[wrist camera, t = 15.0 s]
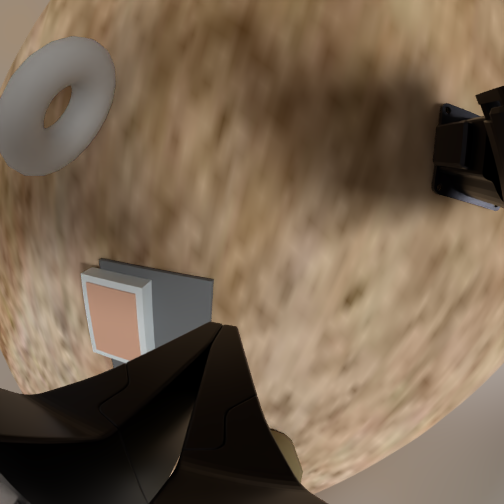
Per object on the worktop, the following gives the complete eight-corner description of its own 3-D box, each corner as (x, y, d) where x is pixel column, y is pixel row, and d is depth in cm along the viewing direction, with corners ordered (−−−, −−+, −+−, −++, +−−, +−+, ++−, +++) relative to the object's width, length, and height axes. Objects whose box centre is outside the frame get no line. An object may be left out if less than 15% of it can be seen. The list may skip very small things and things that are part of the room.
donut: (90, 177, 21) (-7, 197, 12) (65, 159, 21) (-29, 172, 12) (146, 63, 18) (56, 21, 8) (115, 51, 18) (27, 16, 8)
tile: (148, 371, 23) (92, 352, 24) (155, 359, 25) (101, 343, 26) (141, 288, 21) (79, 274, 21) (151, 279, 22) (91, 267, 23)
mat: (213, 279, 22) (212, 281, 22) (207, 407, 26) (206, 410, 26) (101, 258, 23) (99, 259, 23) (118, 381, 28) (117, 383, 27)
